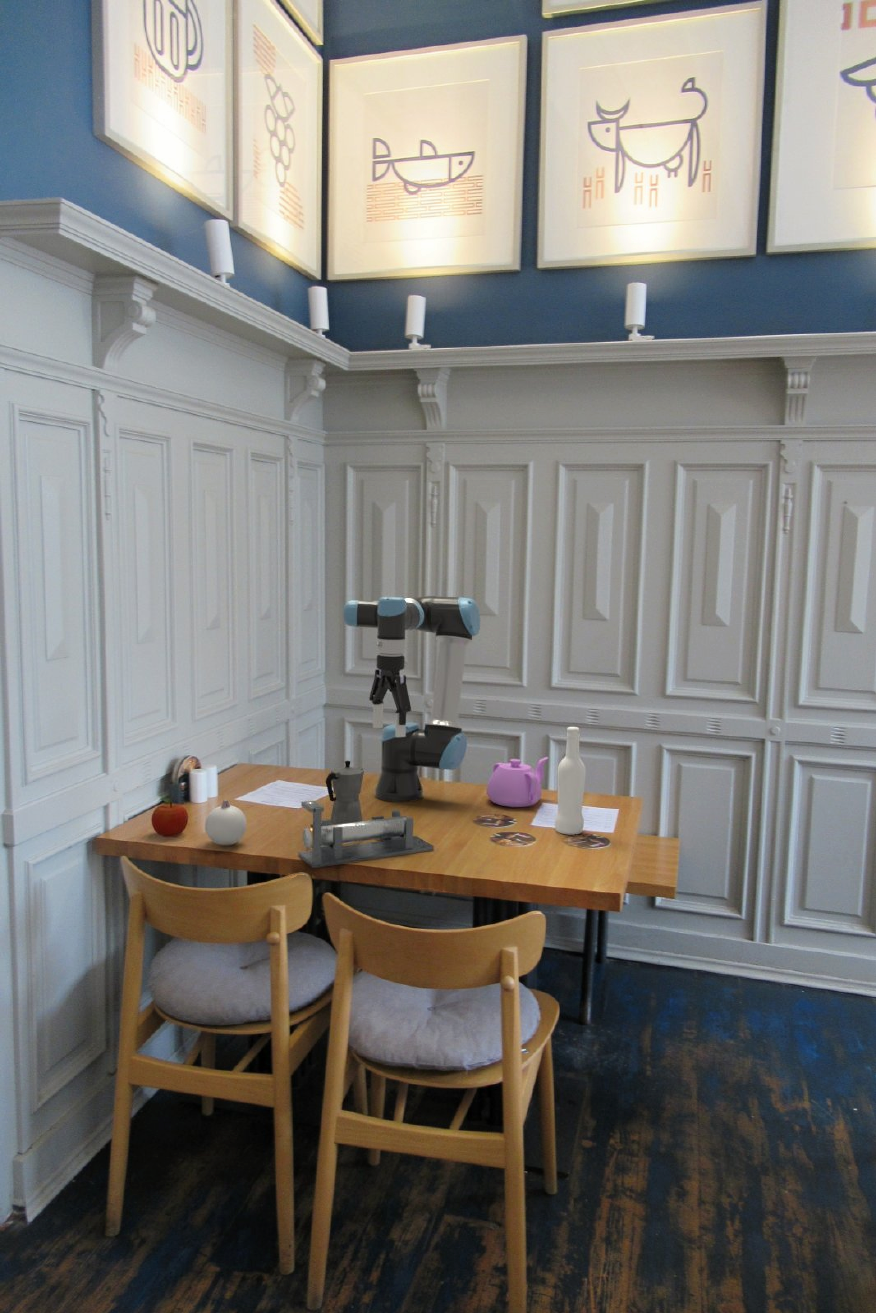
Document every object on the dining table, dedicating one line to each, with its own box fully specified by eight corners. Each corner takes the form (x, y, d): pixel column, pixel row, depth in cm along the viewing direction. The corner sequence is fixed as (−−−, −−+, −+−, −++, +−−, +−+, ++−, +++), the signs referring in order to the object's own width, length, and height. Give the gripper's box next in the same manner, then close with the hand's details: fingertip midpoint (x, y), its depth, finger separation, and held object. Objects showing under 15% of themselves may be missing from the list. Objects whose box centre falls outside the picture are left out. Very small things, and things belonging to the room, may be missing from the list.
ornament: (226, 852, 242) (226, 806, 241) (197, 845, 248) (197, 800, 246) (254, 842, 251) (254, 798, 250) (225, 835, 256) (225, 792, 255)
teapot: (568, 805, 298) (570, 762, 296) (514, 815, 285) (516, 769, 284) (523, 789, 316) (525, 749, 314) (471, 797, 303) (472, 755, 302)
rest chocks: (381, 833, 263) (382, 815, 262) (394, 840, 256) (394, 822, 256) (310, 842, 253) (311, 824, 252) (321, 851, 246) (322, 832, 245)
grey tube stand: (415, 839, 258) (417, 785, 257) (434, 850, 249) (436, 794, 248) (295, 856, 241) (296, 798, 239) (311, 869, 232) (312, 808, 231)
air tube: (401, 832, 253) (401, 813, 253) (410, 837, 248) (410, 817, 248) (302, 846, 239) (302, 826, 239) (310, 851, 235) (310, 830, 234)
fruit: (174, 841, 250) (174, 804, 249) (144, 836, 253) (144, 800, 252) (195, 832, 259) (195, 796, 258) (166, 827, 262) (166, 792, 261)
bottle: (585, 829, 273) (590, 726, 269) (580, 836, 265) (585, 731, 262) (557, 825, 275) (562, 723, 272) (551, 833, 268) (556, 728, 264)
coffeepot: (348, 814, 281) (350, 754, 278) (373, 820, 275) (375, 759, 273) (313, 825, 268) (314, 763, 266) (338, 832, 263) (339, 768, 261)
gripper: (358, 649, 265) (356, 724, 267) (399, 660, 243) (397, 741, 246) (382, 649, 269) (380, 723, 271) (425, 659, 247) (423, 739, 249)
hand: (388, 732), depth 258 cm, fingers open, 13 cm apart
